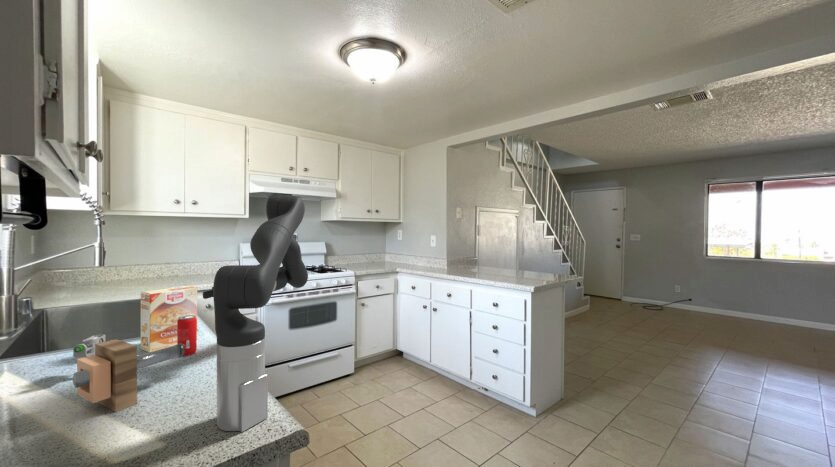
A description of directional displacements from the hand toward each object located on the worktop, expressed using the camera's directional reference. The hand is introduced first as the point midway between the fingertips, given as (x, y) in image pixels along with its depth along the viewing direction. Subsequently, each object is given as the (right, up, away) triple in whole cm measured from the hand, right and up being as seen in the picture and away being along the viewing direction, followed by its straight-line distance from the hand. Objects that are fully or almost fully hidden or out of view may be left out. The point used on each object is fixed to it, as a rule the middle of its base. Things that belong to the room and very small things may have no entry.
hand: (213, 297), depth 102 cm
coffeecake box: (-26, -20, +19) cm, 38 cm away
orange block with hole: (-12, -18, -24) cm, 32 cm away
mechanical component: (-30, -21, -6) cm, 37 cm away
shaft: (-9, -15, -18) cm, 24 cm away
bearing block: (-10, -21, -21) cm, 31 cm away
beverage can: (-14, -20, +10) cm, 27 cm away
